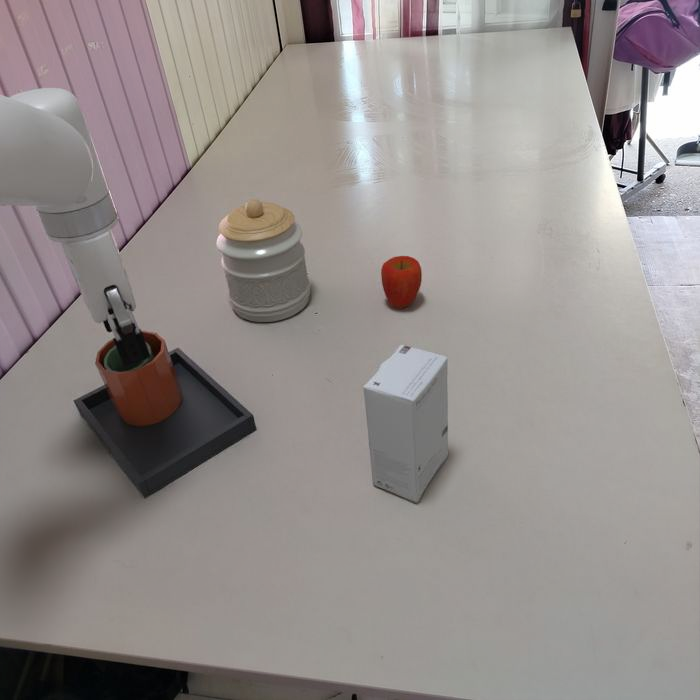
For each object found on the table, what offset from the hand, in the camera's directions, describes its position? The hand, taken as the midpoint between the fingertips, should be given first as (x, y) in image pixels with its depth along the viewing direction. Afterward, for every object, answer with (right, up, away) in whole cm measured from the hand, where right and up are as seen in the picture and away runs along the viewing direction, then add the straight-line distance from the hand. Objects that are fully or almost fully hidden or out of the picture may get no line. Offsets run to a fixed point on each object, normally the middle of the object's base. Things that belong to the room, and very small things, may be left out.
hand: (127, 343), depth 79 cm
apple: (+36, +6, +21) cm, 42 cm away
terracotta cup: (+1, -8, +6) cm, 10 cm away
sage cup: (+1, -7, +6) cm, 9 cm away
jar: (+15, +7, +25) cm, 30 cm away
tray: (+4, -10, +4) cm, 12 cm away
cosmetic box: (+35, -15, -5) cm, 38 cm away
